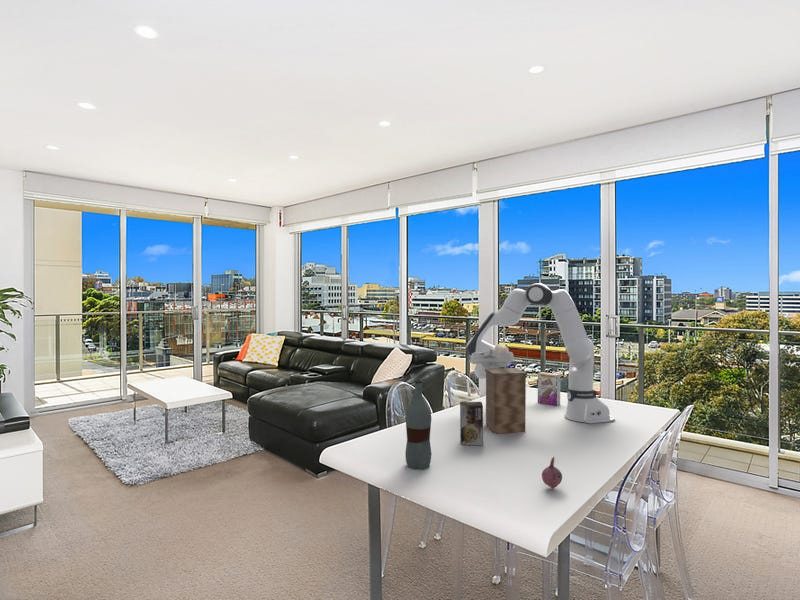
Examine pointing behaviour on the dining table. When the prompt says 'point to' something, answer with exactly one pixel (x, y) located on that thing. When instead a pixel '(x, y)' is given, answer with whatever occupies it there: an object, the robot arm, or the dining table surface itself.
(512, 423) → the lidded wooden crate
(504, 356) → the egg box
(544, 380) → the candy bar box
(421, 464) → the bottle
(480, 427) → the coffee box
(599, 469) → the dining table surface
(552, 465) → the vegetable
